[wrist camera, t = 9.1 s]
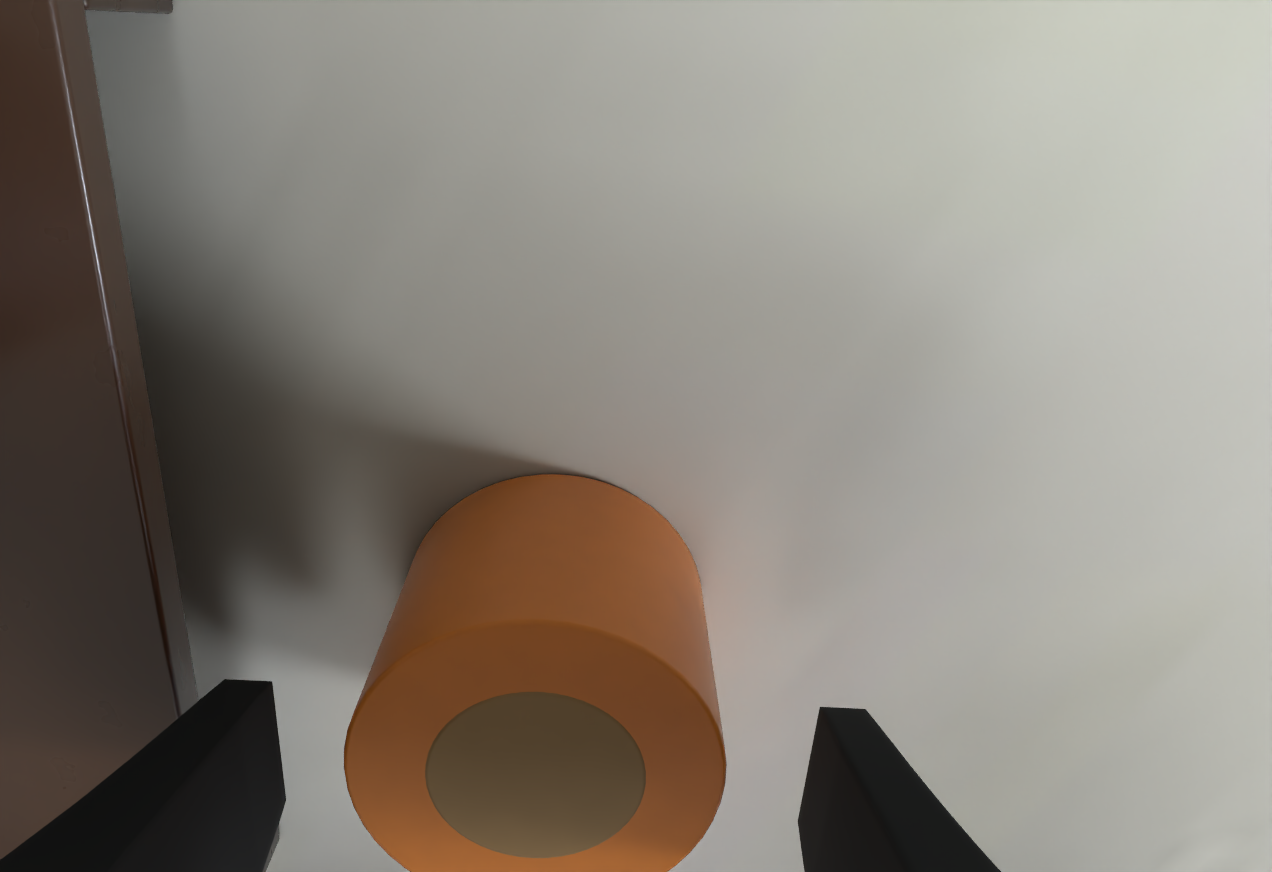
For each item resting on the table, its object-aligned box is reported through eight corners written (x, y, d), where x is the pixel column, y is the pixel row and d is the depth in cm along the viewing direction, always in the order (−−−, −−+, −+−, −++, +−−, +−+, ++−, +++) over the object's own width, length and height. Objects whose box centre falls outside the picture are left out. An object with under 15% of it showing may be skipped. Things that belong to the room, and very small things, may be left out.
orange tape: (716, 481, 14) (749, 632, 10) (687, 723, 16) (707, 918, 12) (403, 464, 14) (328, 611, 10) (412, 711, 16) (353, 906, 12)
